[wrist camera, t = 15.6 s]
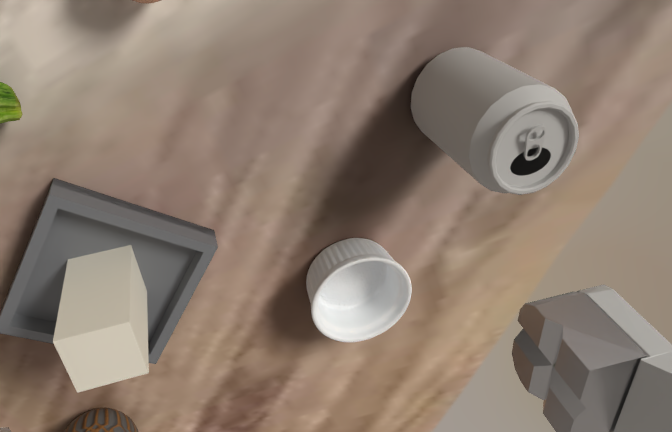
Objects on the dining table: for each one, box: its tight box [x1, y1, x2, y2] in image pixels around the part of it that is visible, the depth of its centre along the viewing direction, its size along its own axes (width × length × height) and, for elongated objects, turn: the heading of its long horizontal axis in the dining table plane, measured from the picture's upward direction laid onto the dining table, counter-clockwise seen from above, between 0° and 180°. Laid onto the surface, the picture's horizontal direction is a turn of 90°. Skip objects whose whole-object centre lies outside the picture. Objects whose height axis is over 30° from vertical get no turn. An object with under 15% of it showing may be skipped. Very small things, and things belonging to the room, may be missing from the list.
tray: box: [0, 178, 218, 364], centre depth 43 cm, size 12×12×2 cm
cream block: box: [53, 245, 149, 393], centre depth 40 cm, size 4×4×9 cm
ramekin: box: [306, 238, 412, 342], centre depth 50 cm, size 9×9×4 cm
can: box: [411, 47, 579, 195], centre depth 40 cm, size 8×8×12 cm
